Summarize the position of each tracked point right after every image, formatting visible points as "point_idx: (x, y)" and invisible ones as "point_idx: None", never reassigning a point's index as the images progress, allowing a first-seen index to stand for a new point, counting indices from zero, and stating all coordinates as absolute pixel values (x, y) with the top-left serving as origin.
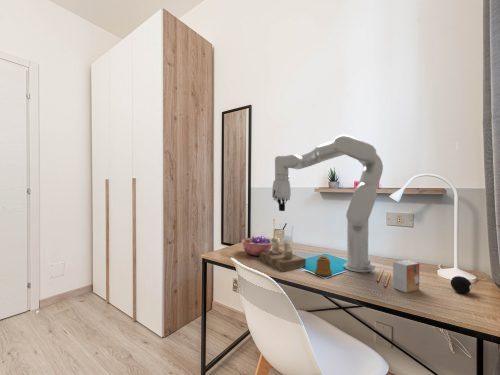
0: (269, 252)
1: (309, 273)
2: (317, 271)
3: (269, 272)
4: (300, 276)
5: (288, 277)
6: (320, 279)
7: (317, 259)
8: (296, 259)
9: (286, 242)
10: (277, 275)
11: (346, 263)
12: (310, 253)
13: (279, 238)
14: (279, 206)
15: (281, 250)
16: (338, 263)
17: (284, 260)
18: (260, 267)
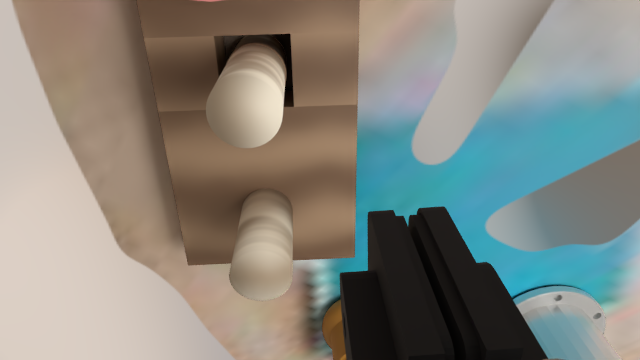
0: (216, 31)
1: (302, 296)
2: (322, 331)
3: (122, 219)
4: (241, 306)
5: (183, 297)
6: (296, 352)
7: (342, 357)
8: (299, 245)
9: (248, 269)
10: (145, 263)
11: (542, 301)
12: (607, 28)
13: (279, 127)
14: (348, 343)
15: (344, 23)
16: (542, 255)
17: (221, 232)
18: (99, 135)
